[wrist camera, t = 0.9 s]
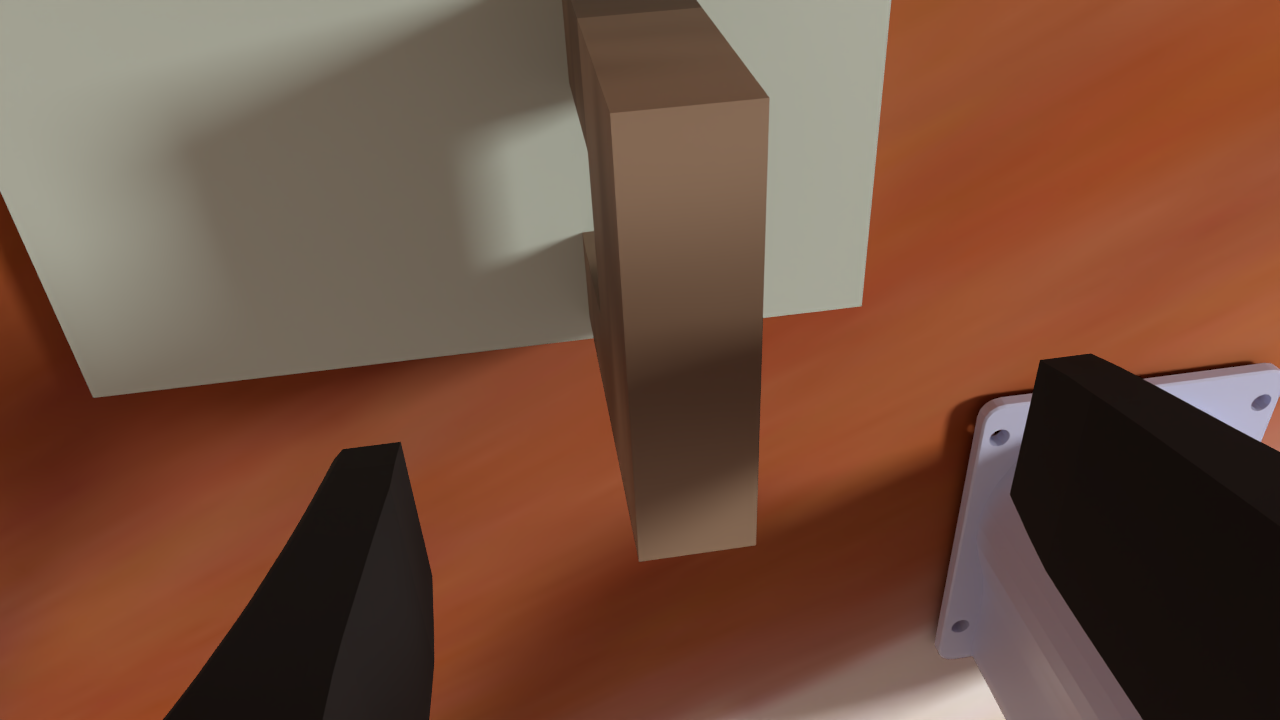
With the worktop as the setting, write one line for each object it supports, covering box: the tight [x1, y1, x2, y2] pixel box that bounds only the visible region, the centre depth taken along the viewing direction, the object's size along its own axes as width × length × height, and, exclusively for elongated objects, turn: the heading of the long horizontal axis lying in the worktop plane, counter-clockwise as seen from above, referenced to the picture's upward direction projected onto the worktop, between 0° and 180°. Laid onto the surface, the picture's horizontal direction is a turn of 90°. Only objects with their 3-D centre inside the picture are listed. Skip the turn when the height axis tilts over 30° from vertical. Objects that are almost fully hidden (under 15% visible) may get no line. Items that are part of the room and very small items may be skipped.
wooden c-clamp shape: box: [562, 0, 770, 562], centre depth 16 cm, size 7×2×7 cm, turn 3°
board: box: [0, 0, 891, 398], centre depth 17 cm, size 14×16×1 cm
